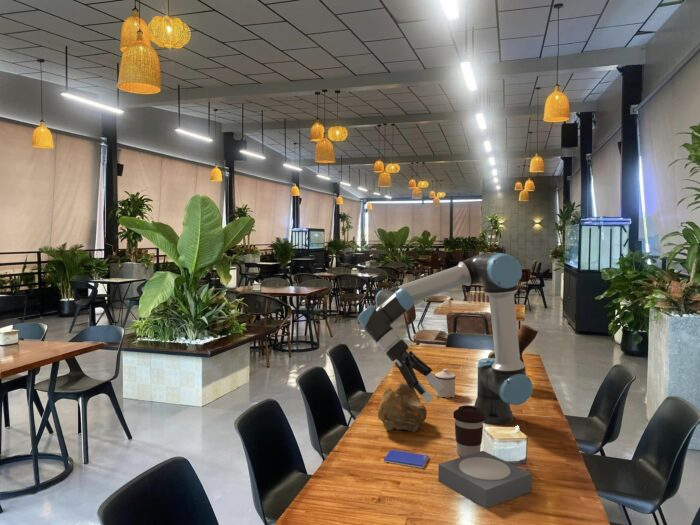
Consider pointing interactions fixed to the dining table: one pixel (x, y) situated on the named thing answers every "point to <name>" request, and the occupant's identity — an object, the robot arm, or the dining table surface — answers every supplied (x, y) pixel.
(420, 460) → the hard drive
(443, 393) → the teacup with lid
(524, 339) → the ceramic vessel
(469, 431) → the coffee cup
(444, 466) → the slate stand
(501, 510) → the dining table surface
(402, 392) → the rough brown rock
